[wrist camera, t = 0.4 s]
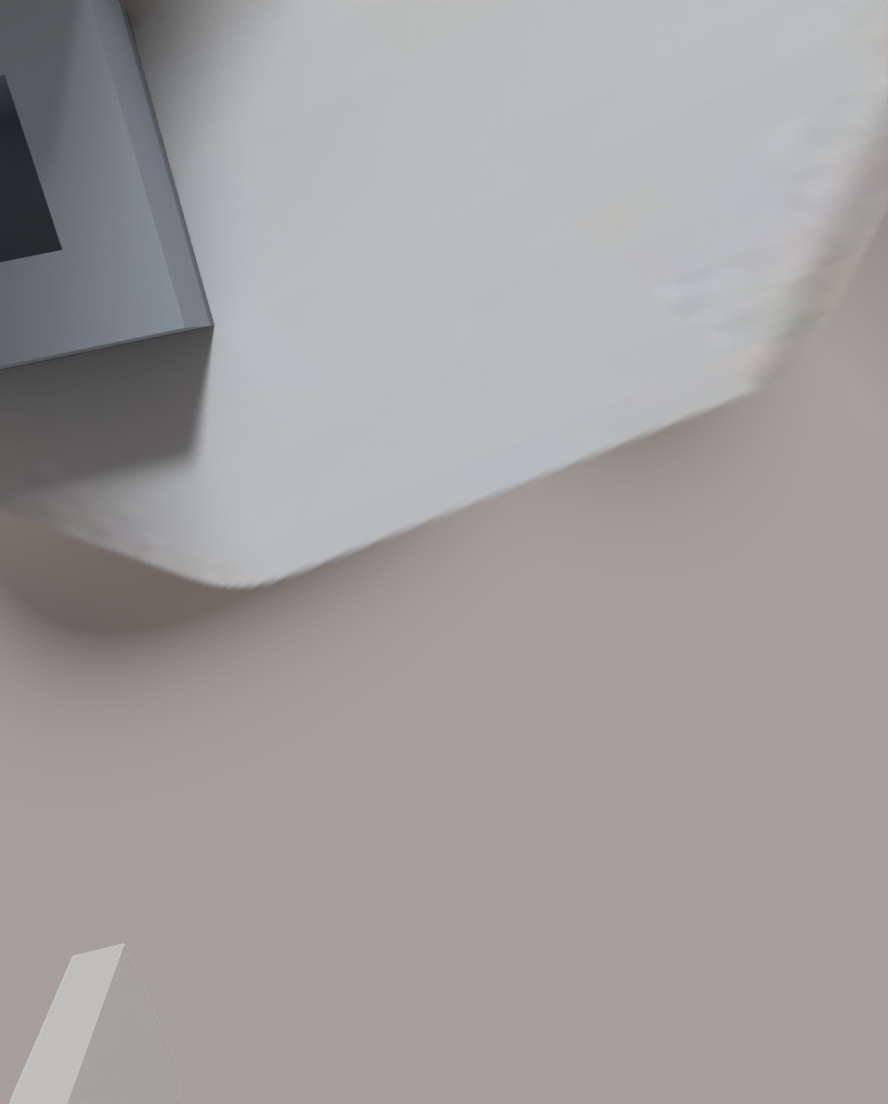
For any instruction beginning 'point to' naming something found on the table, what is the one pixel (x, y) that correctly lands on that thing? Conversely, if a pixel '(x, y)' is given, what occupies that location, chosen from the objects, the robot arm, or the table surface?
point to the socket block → (85, 190)
